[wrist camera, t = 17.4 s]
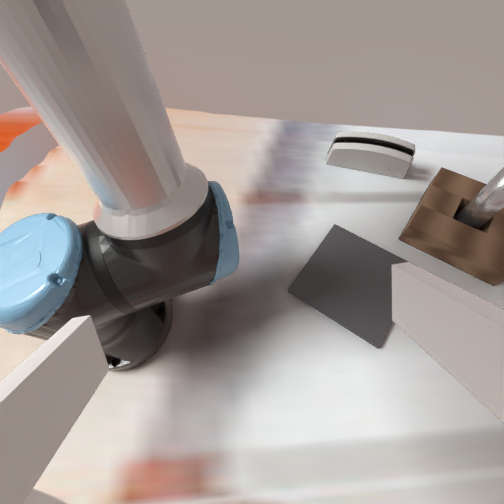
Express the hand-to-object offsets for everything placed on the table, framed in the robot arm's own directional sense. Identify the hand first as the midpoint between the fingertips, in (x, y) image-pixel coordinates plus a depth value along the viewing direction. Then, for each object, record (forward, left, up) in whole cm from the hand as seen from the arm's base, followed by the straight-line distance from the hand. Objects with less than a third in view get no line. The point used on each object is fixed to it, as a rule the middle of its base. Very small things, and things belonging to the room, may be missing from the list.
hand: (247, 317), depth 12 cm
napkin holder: (-6, +47, -33) cm, 57 cm away
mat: (+4, +21, -33) cm, 39 cm away
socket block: (+15, +41, -33) cm, 55 cm away
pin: (+15, +41, -33) cm, 55 cm away
